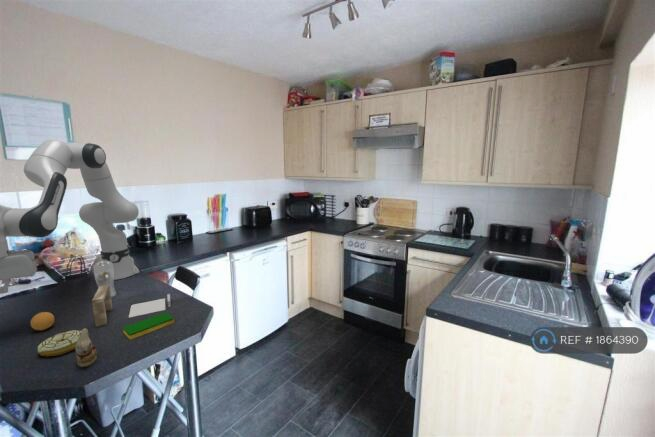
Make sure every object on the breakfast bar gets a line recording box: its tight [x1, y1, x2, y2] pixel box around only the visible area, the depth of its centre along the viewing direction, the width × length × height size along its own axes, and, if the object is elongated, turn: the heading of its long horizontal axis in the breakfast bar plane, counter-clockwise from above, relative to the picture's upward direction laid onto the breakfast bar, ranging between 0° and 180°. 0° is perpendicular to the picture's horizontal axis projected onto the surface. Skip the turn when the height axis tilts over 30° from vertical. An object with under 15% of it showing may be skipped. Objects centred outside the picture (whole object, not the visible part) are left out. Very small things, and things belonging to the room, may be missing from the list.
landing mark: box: [128, 298, 166, 319], centre depth 117 cm, size 12×12×1 cm
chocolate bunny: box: [74, 327, 98, 368], centre depth 84 cm, size 6×8×10 cm
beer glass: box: [92, 261, 117, 298], centre depth 128 cm, size 7×7×15 cm
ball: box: [30, 311, 55, 331], centre depth 102 cm, size 6×6×6 cm
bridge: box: [91, 285, 113, 327], centre depth 110 cm, size 3×15×10 cm, turn 29°
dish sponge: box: [122, 312, 175, 340], centre depth 102 cm, size 7×14×2 cm, turn 140°
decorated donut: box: [37, 329, 82, 357], centre depth 91 cm, size 10×11×4 cm
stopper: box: [166, 293, 172, 308], centre depth 121 cm, size 8×1×2 cm, turn 29°
